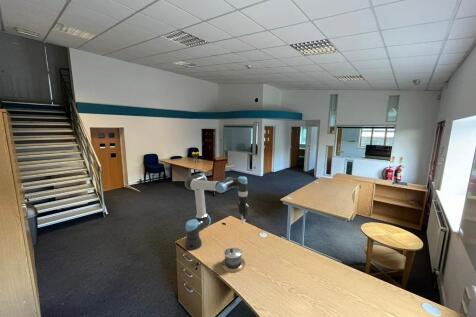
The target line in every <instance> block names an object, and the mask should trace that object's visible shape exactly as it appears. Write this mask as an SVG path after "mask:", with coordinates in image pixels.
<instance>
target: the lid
mask: <svg viewBox="0 0 476 317" xmlns="http://www.w3.org/2000/svg"><path fill="white" fill-rule="evenodd" d="M242 254H243V251H242V249H241V248H240V247H239V248H238V247H228V248H227V249H225V251H224V257H225V256H226V257H227V258H230V259H234V258H238V257H240V256H241V257H242Z"/></svg>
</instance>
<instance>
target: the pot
mask: <svg viewBox="0 0 476 317" xmlns="http://www.w3.org/2000/svg"><path fill="white" fill-rule="evenodd" d="M220 266H221V268H222V269H223V271H225V272H226V273H232V274H233V273H238V272H241V271H242V270H244V268H245V267H246V261H245V259H244V258H243V257H242V255H241V256H240V257H238V258H234V259H230V258H227V257H226V256H225V255H224V259H222V261H221V265H220Z"/></svg>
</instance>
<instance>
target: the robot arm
mask: <svg viewBox="0 0 476 317" xmlns="http://www.w3.org/2000/svg"><path fill="white" fill-rule="evenodd" d="M184 187H185V188H186V189H187V190H190V191H194V196H195V206H196V207H195V209H196V215H195V218H192V219H189V220H187V221H186V223H185V234H186V235H185V236H186V237H185V239H186V240H185V242H184V246H185V249H187V250H189V251H195V250H198V249H200V248H201V247H202V246H203V244H202V243H203V242H202V239H201V237H200V232H201V231H203V230H205V229H206V228H208V227H209V226H210V224H211V223H212V221H211V219H212V218H211V217H210V215H209V214H208V213H207V208H206V198H205V191H216V192H218V193H219V194H222V193H224V192H227V191H228V190H231V189H233V188H236V189H237V190H238V191H237V192H238V201H236V203H237V208H238V212H239V214H240V217H241V224H243V223H246V216H248V212H249V207H250V205H249V204H248V198H249V197H248V195H249V194H248V193H249V192H248V178H247V176H238V178H236V177H235V178H234V177H226V178H225V180H224V181H219V180H218V181H216V180H214V181H213V180H208V178H207V177H206V175H205V174H204V173H201V172H200V173H196V174H193V175H191V176H188V177H187V178H185V180H184Z"/></svg>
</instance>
